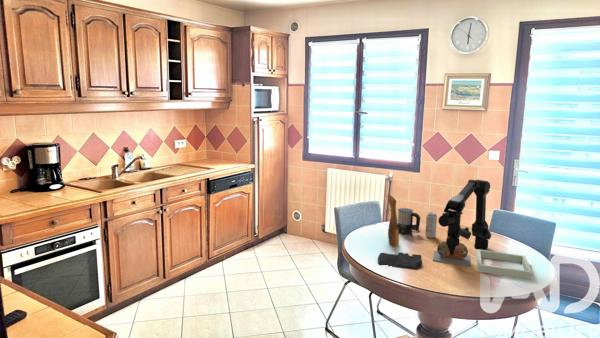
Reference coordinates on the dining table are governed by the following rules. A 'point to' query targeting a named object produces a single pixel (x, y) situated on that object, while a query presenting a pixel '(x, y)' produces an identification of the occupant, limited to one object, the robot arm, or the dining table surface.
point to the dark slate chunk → (400, 260)
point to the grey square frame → (502, 270)
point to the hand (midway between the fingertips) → (452, 251)
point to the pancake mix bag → (393, 223)
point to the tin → (458, 253)
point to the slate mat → (449, 260)
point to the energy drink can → (431, 224)
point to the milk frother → (407, 221)
